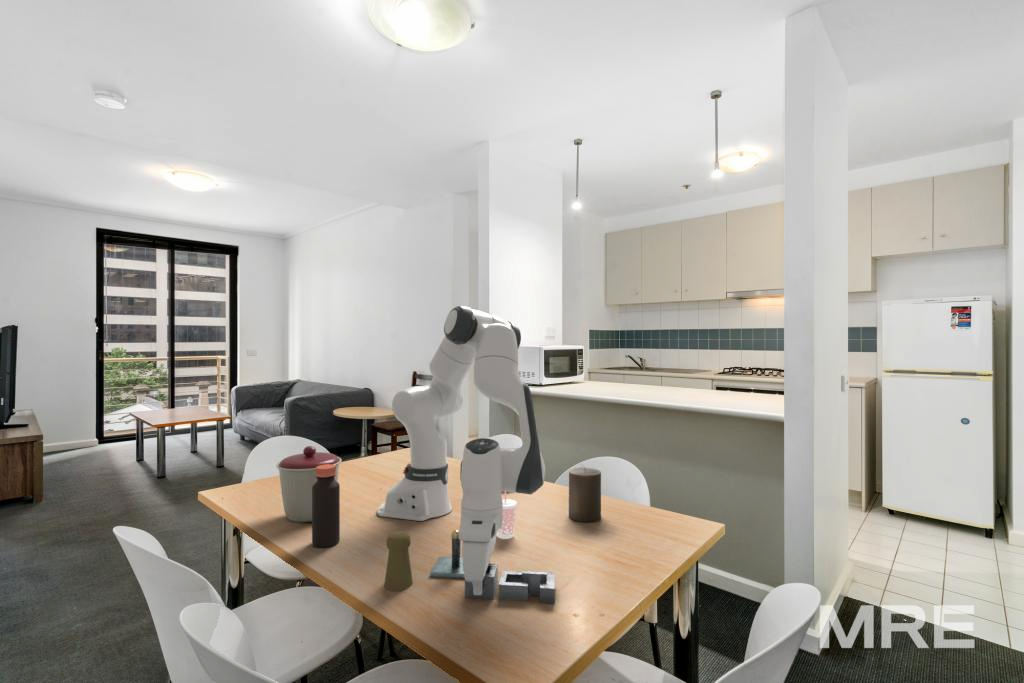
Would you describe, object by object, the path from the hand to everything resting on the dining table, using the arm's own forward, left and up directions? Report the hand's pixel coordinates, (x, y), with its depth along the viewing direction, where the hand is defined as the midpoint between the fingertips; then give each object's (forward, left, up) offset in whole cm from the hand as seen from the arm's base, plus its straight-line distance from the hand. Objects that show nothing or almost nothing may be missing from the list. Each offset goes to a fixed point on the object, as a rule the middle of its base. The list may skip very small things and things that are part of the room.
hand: (481, 582), depth 106 cm
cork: (-18, +1, -2) cm, 19 cm away
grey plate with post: (-7, +9, -2) cm, 12 cm away
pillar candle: (+24, +47, -2) cm, 53 cm away
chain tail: (+9, 0, -2) cm, 9 cm away
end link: (0, 0, -2) cm, 2 cm away
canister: (-58, +38, -2) cm, 70 cm away
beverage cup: (+2, +30, -2) cm, 30 cm away
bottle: (-44, +20, -2) cm, 49 cm away
